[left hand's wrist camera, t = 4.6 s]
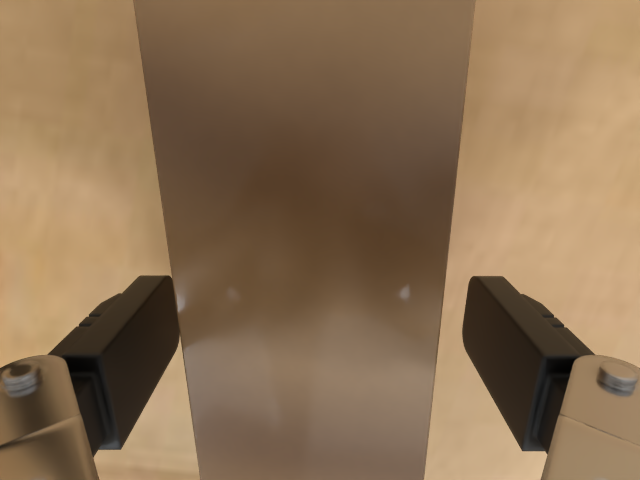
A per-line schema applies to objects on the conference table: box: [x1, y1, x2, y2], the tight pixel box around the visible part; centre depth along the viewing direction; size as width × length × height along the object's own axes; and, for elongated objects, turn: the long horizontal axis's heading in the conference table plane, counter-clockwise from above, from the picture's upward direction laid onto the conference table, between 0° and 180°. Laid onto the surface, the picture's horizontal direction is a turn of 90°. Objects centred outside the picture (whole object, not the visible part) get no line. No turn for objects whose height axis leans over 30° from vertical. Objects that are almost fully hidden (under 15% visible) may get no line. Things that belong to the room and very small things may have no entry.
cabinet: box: [133, 0, 475, 480], centre depth 11 cm, size 19×6×9 cm, turn 0°
